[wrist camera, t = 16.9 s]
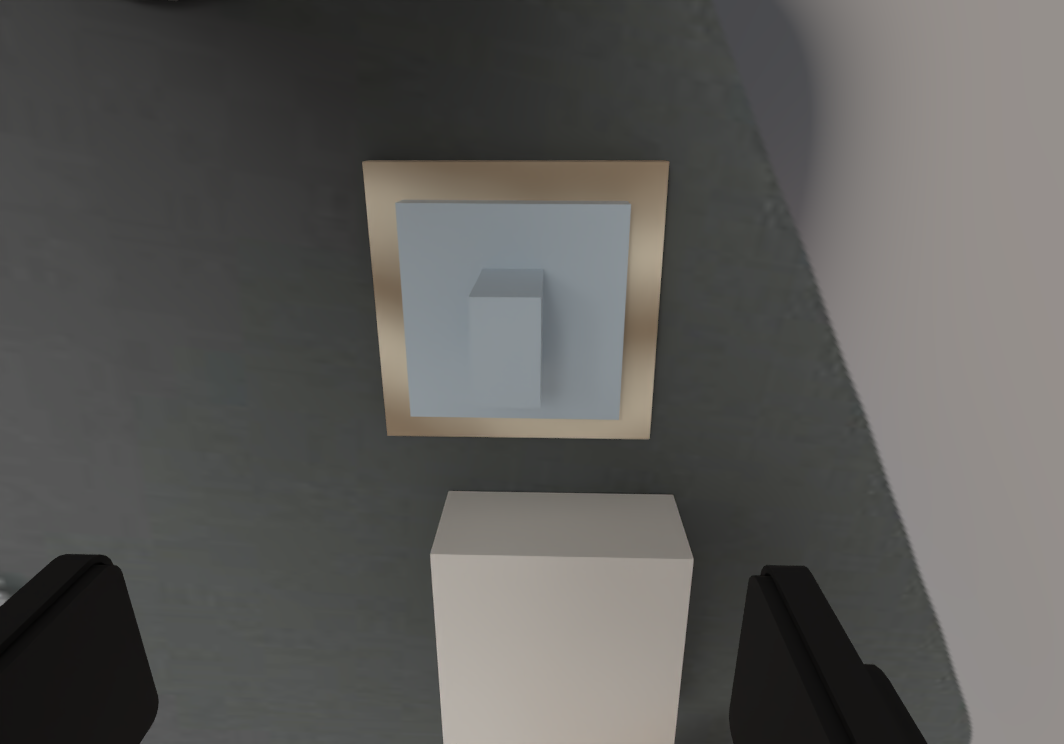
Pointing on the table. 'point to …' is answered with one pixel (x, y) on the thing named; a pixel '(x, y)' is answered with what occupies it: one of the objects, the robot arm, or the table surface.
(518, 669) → the housing
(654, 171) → the pad
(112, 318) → the table surface
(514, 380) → the cover
